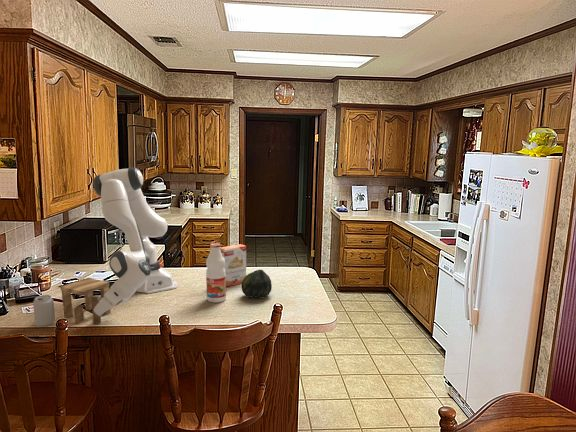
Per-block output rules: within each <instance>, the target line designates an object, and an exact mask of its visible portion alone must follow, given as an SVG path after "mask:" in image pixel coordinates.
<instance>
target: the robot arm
mask: <svg viewBox="0 0 576 432" xmlns="http://www.w3.org/2000/svg"><path fill="white" fill-rule="evenodd" d="M143 186H144V177H143V174H142V172H141V170H140V169H139V168H138V167H128V168H121V169H120V168H119V169H115V170H113V171H109V172H105V173H100V174H98V175H96V176H94V178H93V181H92V187H93V190H94V192H95V194H97V196H99V197H100V201H101V202H100V204H101V209H102V214H103V217H104V219H105V221H107V222H108V223H109V224H111V225H113V226H115V227H116V228H118V229H119V230H121V231H122V232H123V233H124V234H125V236H126V240H127V243H128V246H129V250H117V251H115V252H113V253H112V254H111V255H110V257H109V260H108V261H109V262H108V265H109V268H110V269H111V272H112V273H113V274H114V275H115V277H117V278H118V279H117V280H116V281H114V283H113V284H112V285H111V286H109V290H108V291H107V292H106V293H105V294H104V297H103V298H102V299H101V298H100V299H99V301H100V302H99V303H98V304H97V305H96V306H95V308H94V310H93V311H94V312H95V313H96V314H97V315H98V316H100V315H102V314H103V313H104V312H106V311H107V310H108V309H110V310H111V308H113V307H115V306H117V305H119V304H121V303H124V302H127V301H128V300H129V299H130V298H131V297H132V296H133V295H134V294H135V293H136V292H137V293H144V294H153V293H158V292H165V291H169V290H170V291H171V290H174V289H177V288H178V285H179V284H178V282H177V280H175V279H174V278H173V275H172V273H170V271H168V270H166V269H165V268H163V267H164V265H163V263H162V262H161V261H160V260H158V255H157V252H158V251H157V246H156V245H155V244H154V243H153V242H152V241H151V240H150V238H161V237H164V235H166V234H167V231H168V222H167V220H166V219H165V218H164V217H162V216H160V215H159V214H158V213H157V212H155V211H154V209H152V207H151V206H150V205H149V203H148V202H147V200H146V197H145V195H144V194H143V191H142V189H141V188H142V187H143ZM93 311H92V312H93ZM103 315H104V314H103Z"/></svg>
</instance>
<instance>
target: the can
mask: <svg viewBox="0 0 576 432" xmlns="http://www.w3.org/2000/svg"><path fill="white" fill-rule="evenodd" d="M32 306H33V307H32V309H33V314H34V324H35V325H36V326H37V327H40V328H41V327H42V328H43V327H48V326H49V327H50V326H51V325H53V324H54V323H55V321H56V316H55V305H54V298H53V297H52V295H50V294H43V295H39V296H36V297H35V298H34V300H33V302H32Z"/></svg>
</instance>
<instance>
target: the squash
mask: <svg viewBox="0 0 576 432" xmlns="http://www.w3.org/2000/svg"><path fill="white" fill-rule="evenodd" d="M272 287H273V285H272V279H271V277H270V276H269V275H268V274H267V273H266V272H265V271H264V270H263V269H257V270H254V271H252V272H250V273H248V274H246V276H245V277H244V279H243V281H242V283H241V291H242V293H243V294H244V296H245V297H247V298H252V299H253V298H254V299H255V298H260V299H265V298H266V297H268V296H269V295H270V293H271V292H272Z"/></svg>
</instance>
